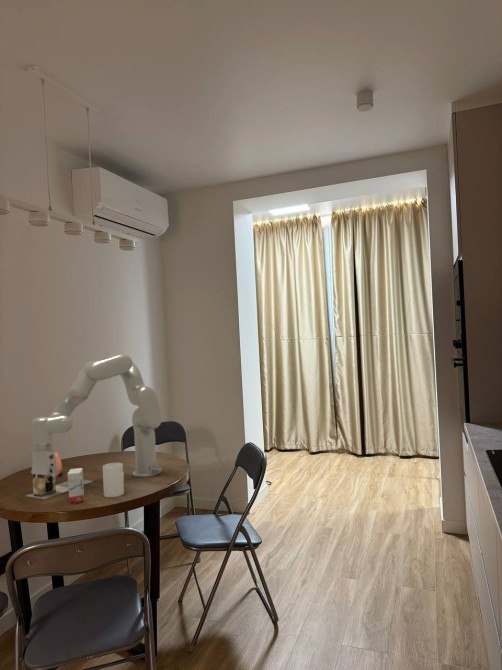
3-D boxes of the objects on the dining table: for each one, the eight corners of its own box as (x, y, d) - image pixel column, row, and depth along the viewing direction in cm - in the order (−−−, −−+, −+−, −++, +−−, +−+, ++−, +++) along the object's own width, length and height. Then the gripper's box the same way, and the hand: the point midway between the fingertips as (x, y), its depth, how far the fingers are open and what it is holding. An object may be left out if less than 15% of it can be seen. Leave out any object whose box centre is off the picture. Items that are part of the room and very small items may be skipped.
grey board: (93, 483, 214) (93, 480, 214) (44, 501, 191) (44, 499, 191) (74, 480, 219) (74, 478, 219) (24, 498, 196) (24, 495, 196)
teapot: (36, 473, 236) (35, 449, 236) (62, 470, 240) (61, 446, 240) (34, 484, 217) (33, 457, 217) (62, 480, 222) (61, 454, 222)
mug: (119, 487, 205) (118, 459, 205) (126, 494, 194) (125, 465, 194) (100, 491, 201) (98, 462, 201) (106, 498, 190) (104, 468, 190)
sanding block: (55, 491, 200) (55, 475, 200) (41, 497, 194) (40, 479, 194) (47, 490, 202) (47, 474, 202) (33, 495, 196) (32, 478, 196)
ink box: (82, 502, 187) (80, 472, 187) (68, 504, 186) (67, 474, 186) (84, 496, 195) (83, 467, 196) (71, 497, 194) (70, 468, 194)
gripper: (64, 446, 198) (66, 490, 197) (36, 444, 206) (38, 486, 205) (49, 450, 191) (51, 495, 191) (21, 447, 199) (23, 491, 199)
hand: (44, 490), depth 198 cm, fingers closed on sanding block, 5 cm apart
